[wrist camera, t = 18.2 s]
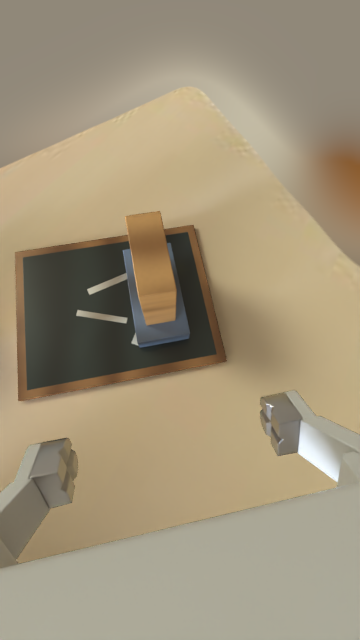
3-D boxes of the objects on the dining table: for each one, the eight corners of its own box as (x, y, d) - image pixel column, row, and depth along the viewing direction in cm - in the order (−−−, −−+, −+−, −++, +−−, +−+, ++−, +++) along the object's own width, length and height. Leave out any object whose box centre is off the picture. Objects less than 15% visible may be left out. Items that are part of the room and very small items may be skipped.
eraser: (189, 338, 29) (196, 306, 20) (139, 348, 29) (125, 319, 20) (170, 252, 32) (170, 193, 23) (125, 259, 32) (108, 202, 23)
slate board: (20, 401, 27) (17, 401, 27) (17, 254, 32) (14, 251, 32) (226, 361, 29) (227, 360, 28) (193, 227, 34) (193, 224, 33)
